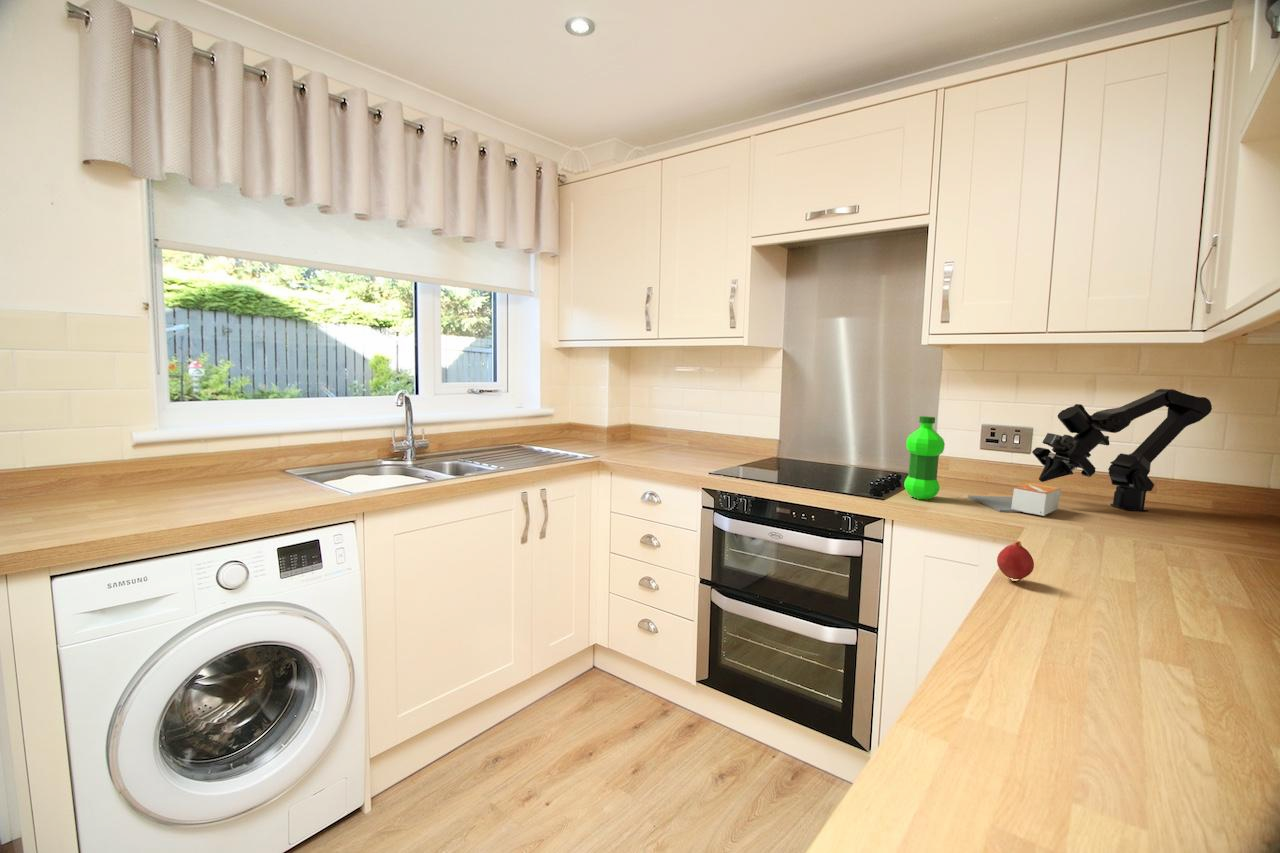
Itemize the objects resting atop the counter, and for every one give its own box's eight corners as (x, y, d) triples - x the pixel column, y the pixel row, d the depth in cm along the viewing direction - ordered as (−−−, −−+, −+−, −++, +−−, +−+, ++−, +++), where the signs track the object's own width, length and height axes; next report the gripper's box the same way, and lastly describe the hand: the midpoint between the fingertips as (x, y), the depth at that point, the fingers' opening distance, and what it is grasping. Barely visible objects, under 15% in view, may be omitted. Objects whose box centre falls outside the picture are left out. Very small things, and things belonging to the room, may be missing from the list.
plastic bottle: (920, 493, 186) (926, 415, 183) (947, 501, 176) (954, 418, 173) (894, 494, 182) (901, 415, 180) (920, 503, 172) (927, 418, 170)
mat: (1014, 498, 181) (1014, 497, 181) (1051, 513, 164) (1051, 511, 163) (967, 497, 182) (967, 495, 182) (999, 511, 164) (999, 509, 164)
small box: (1061, 487, 166) (1047, 493, 158) (1058, 508, 167) (1044, 516, 159) (1028, 481, 172) (1013, 487, 164) (1026, 502, 173) (1010, 509, 165)
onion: (989, 575, 113) (992, 535, 112) (1019, 576, 113) (1023, 536, 112) (1006, 586, 107) (1011, 544, 107) (1038, 588, 107) (1043, 545, 106)
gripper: (1041, 421, 179) (1002, 455, 180) (1090, 428, 160) (1046, 466, 161) (1063, 447, 180) (1024, 481, 181) (1114, 457, 161) (1071, 495, 162)
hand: (1040, 480), depth 171 cm, fingers closed
